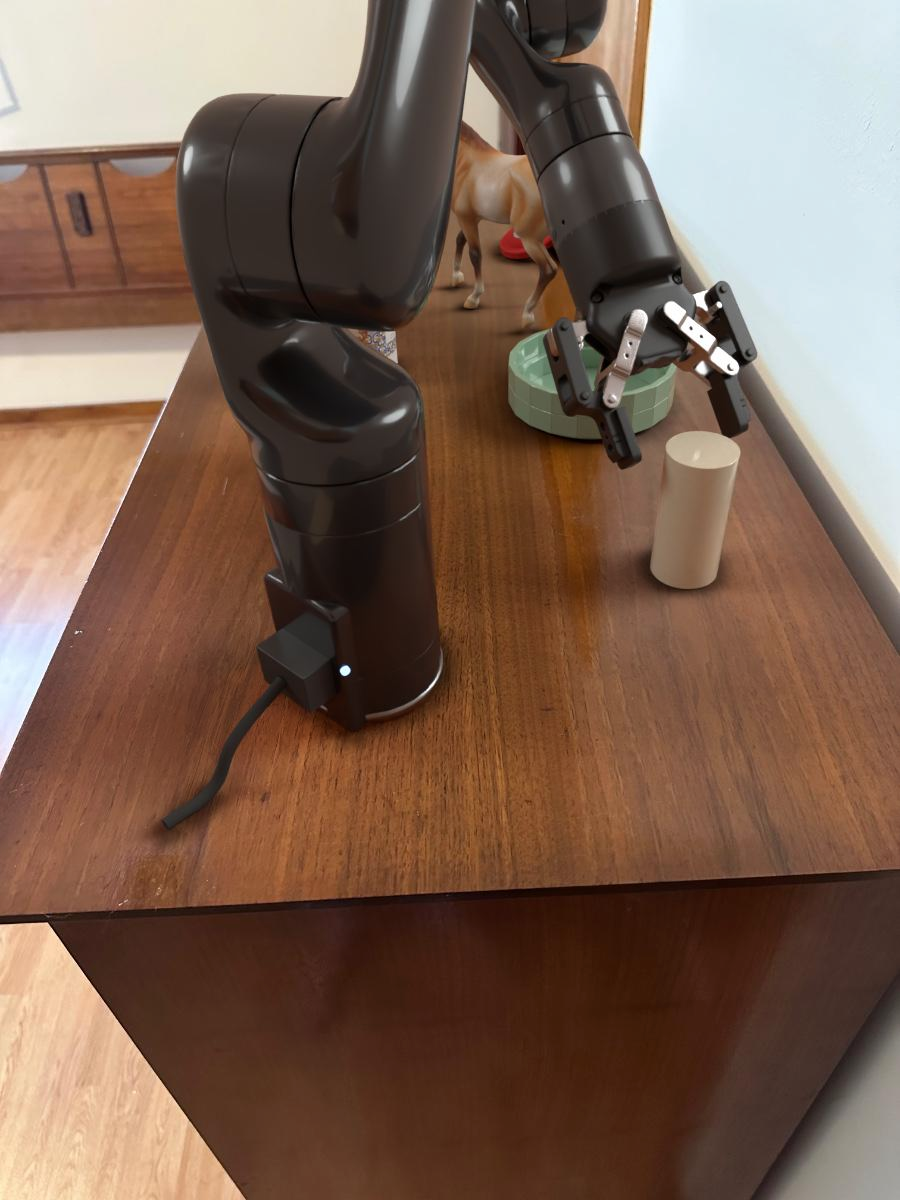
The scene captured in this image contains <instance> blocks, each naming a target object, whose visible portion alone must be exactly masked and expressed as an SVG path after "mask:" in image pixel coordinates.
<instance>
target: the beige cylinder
mask: <svg viewBox="0 0 900 1200" xmlns="http://www.w3.org/2000/svg"><path fill="white" fill-rule="evenodd" d="M741 453H742V452H741V449H740V446H739V444H737V443H736V441H734V440H733V439H732V438H730V439H729V438H728V437H725V436H723V435H722V434H721V433H717V432H713V431H705V430H690V431H684V432H679V433H677V434H675V435H674V436H672V437H670V438H669V439H668V440H667V441H666V444H665V446H664V453H663V461H662V469H661V477H660V484H659V492H658V499H657V508H656V515H655V524H654V530H653V531H654V532H653V539H652V546H651V555H650V563H649V568H650V572H651V573H652V575H653V576H654V577H655V579H657V580H658V581H659V582H661V583H662V584H664V585H667V586H668V587H672V588H675V589H680V590H681V589H682V590H697V589H701V588H704V587H707V586H708V585H710V584H712V583H713V582H714V581H715V580H716V579H717V576H718V573H719V572H718V571H719V568H720V562H721V557H722V553H723V552H722V551H723V546H724V542H725V536H726V531H727V527H728V522H729V521H728V520H729V516H730V511H731V505H732V500H733V495H734V489H735V484H736V480H737V475H738V468H739V464H740V460H741Z"/></svg>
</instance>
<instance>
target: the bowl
mask: <svg viewBox="0 0 900 1200" xmlns="http://www.w3.org/2000/svg"><path fill="white" fill-rule="evenodd" d="M550 329H551V328H548V329H544V330H542V331H538V332H535V333H532V334H531V335H529V336H527V337H526V338H525V337H524V339H522V340H520V341H518V343H517V344H516V345H515V346H514V347H513V348H512V350H510V352H509V357H508V366H507V367H508V368H507V369H508V371H507V372H508V373H507V374H508V377H507V378H508V382H507V384H508V387H507V388H508V391H507V392H508V395H507V396H508V405H509V406H510V408H511V409H512V411H513V413H514V416H516V417H517V418H519V419H520V420H522V421H523V422H524V423H526V424H527V425H528V426H530V427H533V428H536V429H538V430H541V431H543V432H546V433H548V434H552V435H555V436H559V437H563V438H570V439H578V440H602V438H601V435H600V433H599V430H598V427H597V424H596V422H595V421H594V420H593V419H592V418H591V417H589V416H583V415H576V416H574V417H568V416H566V415H565V414H564V412H563V410H562V407H561V403H560V400H559V396H558V393H557V389H556V386H555V382H554V379H553V375H552V372H551V368H550V365H549V361H548V358H547V354H546V351H545V347H544V344H543V337H544V336H545V334H546V333H547V332H548V331H549V330H550ZM583 342H584V347H583V349H582V350H581V355H582V358H583V362H584V365H585V369H586V372H587V376H588V379H589V383H590V386H591V389H592V391H594V388H595V386H594V381H595V378H596V374H597V371H598V368H599V364H600V361H601V358H602V355H600V354H599V353H598V352H597V351H596V350H594V349H593V348H592V347H591V346H589V345H588V344H587V343H586V342H585V341H584V340H583ZM677 371H678V367H677V366H676V365H674V364H673V363H671V364H670V365H669V366H667V367H663V368H659V369H656V368H648V369H646V370H644V371H643V372H641V373H640V374H636V375H632V376H629V377H628V379H627V380H626V383H625V387H624V390H623V394H622V397H621V401H620V404H619V408H622V407H625V408H626V411H627V414H628V417H629V420H630V423H631V425H632V428H633V431H634V434H636V433H640V432H642V431H645V430H647V429H650V428H652V427H654V426H655V425H657V424H658V423H659V422H660V421H662V420H663V419H665V418H666V417H667V416H668V414H669V412H670V410H671V408H672V406H673V402H674V394H675V386H676V380H677V379H676V378H677Z"/></svg>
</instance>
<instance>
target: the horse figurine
mask: <svg viewBox="0 0 900 1200" xmlns="http://www.w3.org/2000/svg"><path fill="white" fill-rule="evenodd" d="M451 211H452V212H453V214H455V217H456V221H457V224H458V226H459V228H460V230H459V232H458V233H457V235H456V238H455V245H456V246H455V253H454V255H453V260H452V263H451V265H452V274H451V275H452V276H451V277H452V279H451V280H452V281H451V286H452V287H453V288H455V287H458V286H462V284H464V282H465V277H464V273H463V272H461V271H460V270H461V268H462V265H463V262H462V261H463V254H464V249H465V246H466V244H467V247H468V256H469V260H470V262H471V263H470V264H471V265H472V267H473V272H474V278H475V280H474V288H473V291H472V293H471V294H470V295H468V297H466V300H465V301H464V304H463V308H465V309H469V310H470V309H471V310H472V309H477V308H478V306H479V303H480V296H481V295H482V294H483V293H484V292H485V285H484V280H483V273H482V272H483V271H482V262H483V253H482V247H481V240H480V239H481V238H480V233H479V232H480V231H479V224H480V222H481V221H488V222H490V223H491V222H492V223H495V224H497V225H510V226H511V228H513V230H514V232H515V233H516V235H517V236H518V237H519V238H520V239H521V241H522V244H523V246H524V248H525V250H526V252H527V253H528V255H529V256H530V257H529V258H531V260H533V261H534V262H535V263H536V265H537V266H538V269H539V270H538V271H539V277H538V280H537V283H536V285H535V287H534V288H533V290H532V292H531V293H530V295H529V296H528V297H527V299H526V301H525V304H524V305H525V306H524V310H523V313H522V316H521V329H522V331H526V330H528V329H529V328H531V326H533V325H534V324H535V319H536V318H535V315H534V313H533V311H534V310H535V309H536V308H537V306H538V305H539V301H540V299H541V298H542V295H543V293H544V292H545V290H546V288H547V287H548V286H549V284H550V283H551V282H552V281H553V280H554V279H555V278H556V276H557V275H558V265H557V264H556V262H555V261H554V260H553V258H552V257H551V255H550V254H549V252H548V249H546V247H545V245H544V242H543V241H544V239H545V238H546V237H547V236H548V235H549V230H548V227H547V224H546V221H545V217H544V213H543V208H542V202H541V198H540V194H539V191H538V187H537V184H536V181H535V178H534V175H533V172H532V170H531V167H530V164H529V161H528V158H527V155H526V154H523V155H521V154H520V155H515V154H507V153H504V152H503V151H500V150H499V149H497V148H495V147H494V146H492V145H491V144H490V143H489V142H488V141H486V140H485V139H484V138H483V137H482V136H481V135H480V134H479V133H478V132H477V130H475V129H474V127H472V126H471V125H469V124H468V123H467V122H466V121H465V120H463V119H462V125H461V134H460V142H459V150H458V159H457V167H456V175H455V182H454V190H453V197H452V204H451ZM578 321H581V313H580V312H579V311H578V310H577V309H576V308H575V314H574V317H573V321H572V322H578Z"/></svg>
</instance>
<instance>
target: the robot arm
mask: <svg viewBox="0 0 900 1200" xmlns="http://www.w3.org/2000/svg"><path fill="white" fill-rule="evenodd" d="M608 3H609V0H367V7H366V8H367V9H366V23H365V24H366V25H365V31H364V32H365V33H364V38H363V39H364V40H363V48H362V53H361V58H360V64H359V69H358V72H357V76H356V80H355V83H354V85H353V88H352V90H351V92H350V94H349V95H348V96H346V97H344V96H333V95H332V96H330V95H310V94H308V95H307V94H290V93H289V94H287V93H286V94H285V93H279V94H278V93H262V92H259V93H258V92H248V93H247V92H245V93H244V92H243V93H242V92H241V93H240V92H239V93H230V94H224V95H221V96H217V97H215V98H213V99H211V100H210V101H208V102H206V103H205V104H204V105H202V106H201V107H200V108H199V109H198V111H196V112H195V114H194V116H193V117H192V118H191V120H190V122H189V123H188V125H187V127H186V129H185V131H184V134H183V137H182V139H181V142H180V146H179V149H178V156H177V160H176V168H175V188H174V191H175V192H174V195H175V198H174V199H175V209H176V210H175V212H176V220H177V228H178V236H179V239H180V244H181V249H182V254H183V255H182V256H183V259H184V263H185V268H186V271H187V275H188V278H189V282H190V287H191V290H192V292H193V293H192V294H193V297H194V300H195V303H196V307H197V309H198V313H199V317H200V320H201V324H202V327H203V330H204V334H205V337H206V341H207V344H208V348H209V351H210V354H211V358H212V361H213V364H214V368H215V372H216V375H217V379H218V382H219V386H220V390H221V393H222V396H223V398H224V401H225V404H226V406H227V408H228V410H229V412H230V414H231V416H232V417H233V419H234V420H235V421H236V423H237V425H238V426H239V427H240V429H241V430H242V431H243V432H244V434H245V436H246V439H247V442H248V447H249V451H250V455H251V459H252V463H253V468H254V473H255V478H256V482H257V487H258V491H259V496H260V501H261V506H262V511H263V515H264V520H265V524H266V525H265V526H266V530H267V534H268V539H269V543H270V547H271V552H272V557H273V561H274V566H273V567H271V568H270V569H268V570H266V571H265V573H263V576H262V577H263V583H264V588H265V592H266V596H267V600H268V601H267V602H268V605H269V610H270V614H271V618H272V622H273V626H274V631H275V632H274V633H273V634H271V635H270V636H269V637H267V638H266V639H264V640H263V641H261V642H260V643H258V644H256V645H255V649H256V653H257V657H258V661H259V664H260V669H261V672H262V676H263V677H262V678H263V681H264V682H266V683H267V684H269V686H268V687H267V688H266V689H265V690H264V691H263V693H261V695H260V696H259V697H258V698H257V699H256V701H254V703H253V704H252V705H251V706H250V708H249V709H248V710H247V711H246V712H245V714H243V716H242V717H241V718H240V720H239V721H238V722H237V724H236V725H235V726H234V727H233V730H232V731H231V732H230V734H229V735H228V736H227V739H226V740H225V742H224V744H223V746H222V749H221V751H220V754H219V755H218V759H217V763H216V767H215V769H214V772H213V775H212V777H211V778H210V779H209V781H208V783H207V784H206V785H205V786H204V788H203V789H201V791H199V793H198V794H197V795H195V796H194V797H193V798H192V799H190V800H189V801H187V802H186V803H184V804H183V805H181V806H179V807H177V809H175V810H173V811H172V812H170V813H169V814H168V815H165V816H164V817H163V818H161V820H160V821H161V824H163V826H164V828H165V829H166V830H167V831H171V830H172V829H173V828H175V827H176V826H178V825H179V824H181V823H183V822H184V821H185V820H187V819H189V818H190V817H192V816H193V815H194V814H196V813H198V812H199V811H200V810H202V809H203V808H204V807H205V806H206V805H208V803H209V802H211V801H212V799H213V798H215V796H216V795H217V794H218V792H219V791H220V790H221V789H222V787H223V785H224V783H225V782H226V779H227V777H228V774H229V771H230V768H231V765H232V761H233V759H234V757H235V754H236V751H237V749H238V748H239V746H240V745H241V743H242V741H243V739H244V738H245V736H246V735H247V734H248V732H249V731H250V730H251V728H252V727H253V725H255V723H256V722H257V721H258V719H260V717H261V716H262V715H263V714H264V712H266V710H267V709H268V708H269V707H270V706H271V704H272V703H273V702H274V701H275V700H276V699H277V698H278V697H279V696H280V694H283V695H284V696H285V697H287V698H288V699H289V700H291V701H292V702H293V703H295V704H296V705H297V706H299V708H302V709H303V710H305V711H306V712H307V713H309V714H311V715H312V714H313V713H314V712H315V711H318V712H319V713H321V714H323V715H324V716H326V717H328V718H329V719H330V720H332V721H333V722H335V723H336V724H337V725H339V726H340V727H342V729H345V731H347V732H349V733H355V732H357V731H358V730H360V729H361V728H362V727H364V726H366V725H367V724H375V723H382V722H383V723H384V722H388V721H390V720H394V719H397V718H400V717H402V716H405V715H408V714H409V713H411V712H413V711H415V710H416V709H418V708H419V707H420V706H422V705H424V703H425V702H427V701H428V700H429V699H430V698H431V697H432V695H433V694H434V693H435V692H436V690H437V689H438V687H439V686H440V683H441V681H442V679H443V674H444V654H443V650H442V646H441V634H440V633H441V632H440V619H439V608H438V607H439V606H438V592H437V580H436V579H437V578H436V565H435V563H436V562H435V550H434V549H435V548H434V535H433V522H432V520H433V519H432V508H431V507H432V505H431V492H430V475H429V463H428V461H429V460H428V448H427V447H428V446H427V433H426V419H425V417H426V416H425V406H424V399H423V395H422V391H421V389H420V386H419V384H418V383H417V381H416V379H415V378H414V377H413V375H411V373H410V372H409V371H408V370H407V369H405V368H404V367H403V366H402V365H400V364H399V363H398V364H397V363H396V362H394V361H393V360H391V359H389V358H388V357H386V356H384V355H383V354H381V353H379V352H377V351H376V350H374V349H373V348H371V347H370V346H368V345H367V344H365V343H364V342H362V341H361V340H359V339H358V338H357V337H356V336H355V335H353V334H352V333H351V332H350V331H349V330H348V329H355V330H363V331H373V332H392V331H395V332H396V331H398V330H402V329H404V328H405V327H407V326H408V325H409V324H411V322H413V321H414V320H415V319H416V317H417V316H418V315H419V314H420V312H422V310H423V308H424V306H425V304H426V302H427V300H428V298H429V296H430V294H431V291H432V290H433V288H434V286H435V282H436V279H437V276H438V272H439V269H440V265H441V263H442V258H443V253H444V249H445V244H446V240H447V234H448V228H449V224H450V217H451V211H452V209H451V204H452V197H453V190H454V182H455V175H456V167H457V159H458V150H459V142H460V134H461V125H462V120H463V118H464V117H463V115H464V108H465V100H466V99H465V98H466V90H467V82H468V75H469V67H470V66H471V68H472V70H473V71H474V73H475V75H477V77H478V79H479V80H480V81H481V82H482V84H483V85H484V86H485V88H486V89H487V90H488V92H489V93H490V94H491V95H492V97H493V98H494V100H495V101H496V103H497V104H498V105H499V107H500V109H501V110H502V111H503V113H504V114H505V116H506V117H507V119H508V120H509V122H510V124H511V125H512V127H513V128H514V130H515V132H516V134H517V135H518V137H519V140H520V142H521V144H522V147H523V150H524V153H525V155H527V158H528V161H529V164H530V167H531V170H532V172H533V175H534V178H535V181H536V184H537V187H538V191H539V194H540V198H541V202H542V208H543V213H544V217H545V221H546V224H547V227H548V230H549V234H550V238H551V241H552V243H553V244H554V247H555V249H554V250H555V253H556V256H557V259H558V261H559V265H560V267H561V271H562V273H563V276H564V279H565V282H566V284H567V287H568V291H569V294H570V297H571V299H572V301H573V304H574V307H575V310H576V309H577V310H578V311H579V312H580V313H581V321H578V322H573V321H571V319H569V318H567V317H560V318H558V319H557V321H555V323H554V324H553V325H552V326H551V328H549V329H550V330H549V331H548V332H547V333H546V334H545V336H544V337H543V344H544V347H545V351H546V354H547V358H548V361H549V365H550V368H551V372H552V375H553V379H554V382H555V386H556V389H557V393H558V396H559V400H560V403H561V407H562V410H563V412H564V414H565V415H566V416H568V417H574V416H576V415H583V416H589V417H591V418H592V419H593V420H594V421H595V422H596V424H597V427H598V430H599V433H600V435H601V438H602V439H601V441H602V443H603V447H604V450H605V452H606V455H607V459H609V460H610V462H611V463H612V464H615V463H616V465H617V467H618V468H619V469H620V470H621V471H624V470H626V469H630V468H632V467H634V466H636V465H638V464H639V463H641V462H642V459H643V455H642V452H641V449H640V446H639V442H638V440H637V437H636V435H635V434H636V433H634V431H633V428H632V425H631V423H630V420H629V417H628V414H627V411H626V408H625V407H622V408H619V404H620V401H621V397H622V394H623V390H624V387H625V383H626V380H627V379H628V377H629V376H632V375H636V374H640V373H641V372H643V371H644V370H646V369H648V368H656V369H659V368H663V367H667V366H669V365H670V364H671V363H673V364H674V365H676V366H677V369H679V370H681V371H682V372H686V373H688V372H689V373H691V374H693V375H694V376H695V378H698V379H699V380H700V381H702V382H703V383H704V385H706V386H708V387H709V388H710V389H708V390H706V394H707V396H708V399H709V402H710V404H711V407H712V410H713V413H714V416H715V418H716V419H715V420H716V421H717V424H718V428H719V430H720V434H721V435H723V436H725V437H728V438H729V439H733V438H736V437H739V436H740V435H742V434H743V433H745V432H748V430H749V422H750V421H751V412H750V410H749V407H748V404H747V400H746V398H745V395H744V392H743V390H742V386H741V384H740V381H739V373H740V372H741V370H743V369H744V368H745V367H747V366H748V365H749V364H750V363H752V362H754V361H755V360H756V359H757V357H758V350H757V347H756V345H755V342H754V340H753V338H752V335H751V333H750V331H749V329H748V326H747V323H746V321H745V318H744V316H743V313H742V311H741V309H740V307H739V304H738V302H737V299H736V296H735V295H734V292H733V290H732V287H731V285H730V284H729V283H728V282H727V281H725V280H719V281H717V282H716V283H715V284H714V285H712V286H711V287H710V288H709V289H706V290H703V291H699V292H696V293H692V292H691V291H690V290H689V289H688V287H686V285H685V283H684V281H683V277H682V259H681V256H680V253H679V250H678V248H677V245H676V242H675V240H674V237H673V234H672V232H671V228H670V226H669V222H668V220H667V217H666V214H665V211H664V209H663V206H662V203H661V200H660V198H659V194H658V192H657V190H656V189H657V188H656V187H655V183H654V181H653V178H652V175H651V173H650V170H649V168H648V166H647V164H646V161H645V160H644V158H643V156H642V154H641V153H640V151H639V148H638V147H637V144H636V142H635V139H634V136H633V133H632V131H631V127H630V125H629V121H628V119H627V116H626V114H625V110H624V108H623V105H622V102H621V101H620V97H619V94H618V91H617V88H616V86H615V83H614V81H613V80H612V78H611V76H610V74H609V73H608V72H607V71H606V70H605V69H604V68H603V67H600V66H598V65H597V64H593V63H586V62H561V61H555V60H560V59H563V58H566V57H570V56H573V55H576V54H577V55H578V54H579V53H581V52H583V51H586V50H587V49H588V48H590V47H591V46H592V44H593V43H594V42H595V41H596V39H598V36H599V34H600V33H601V30H602V28H603V26H604V23H605V19H606V16H607V11H608ZM696 315H697V316H698V318H697V321H698V322H696V321H695V318H696ZM700 324H704V325H705V327H706V329H707V330H706V329H705V328H704V327H703V326H702V325H700ZM583 340H584V341H585V342H586V343H587V344H588V345H589V346H591V347H592V348H593V349H594V350H596V351H597V352H598V353H599V354H600V355H602V358H601V361H600V364H599V368H598V371H597V374H596V378H595V381H594V386H595V388H594V391H592V389H591V386H590V383H589V379H588V376H587V372H586V369H585V365H584V362H583V358H582V355H581V350H582V349H583V347H584V342H583ZM688 344H690V345H691V346H693V348H691V349H690V348H689V349H688Z"/></svg>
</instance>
